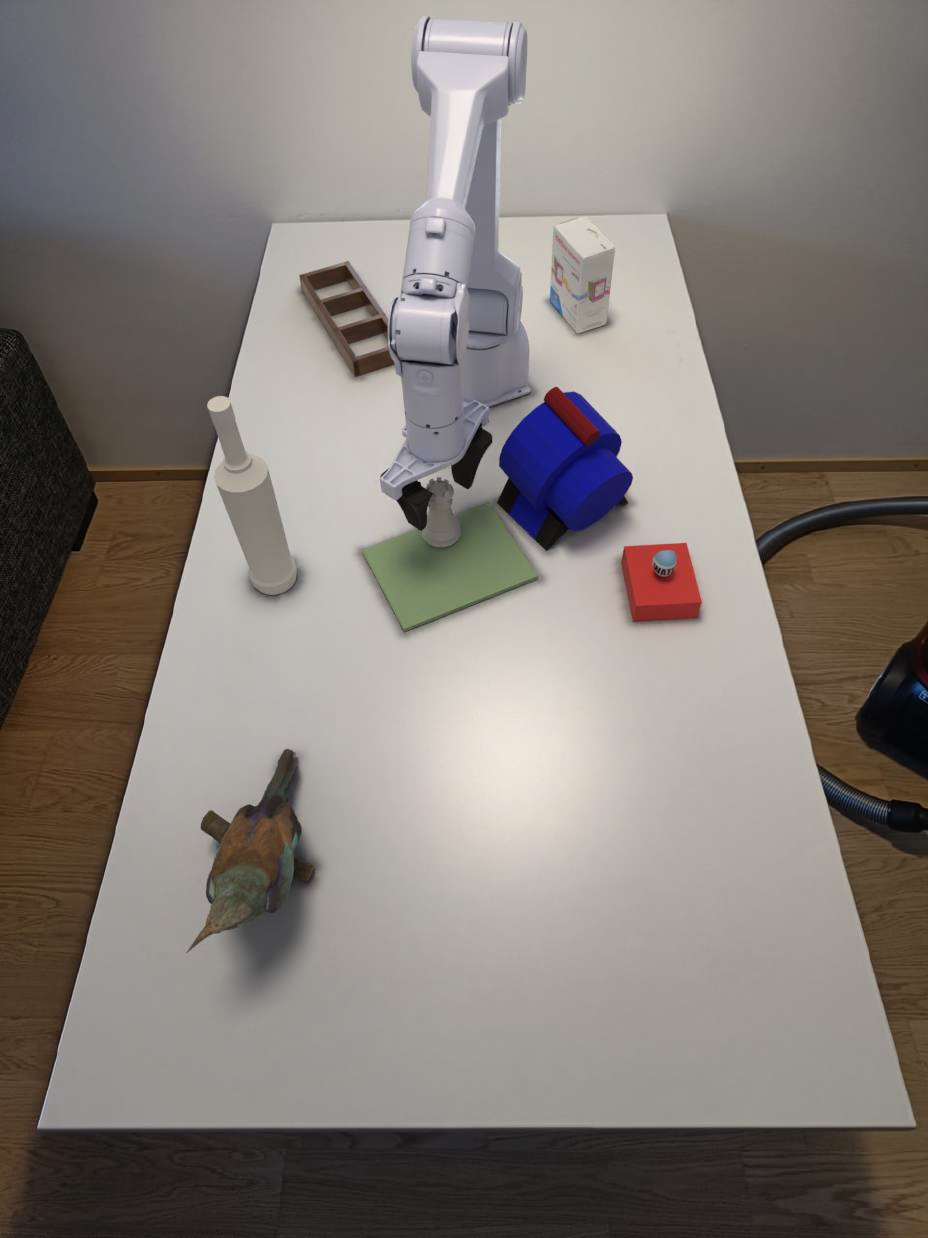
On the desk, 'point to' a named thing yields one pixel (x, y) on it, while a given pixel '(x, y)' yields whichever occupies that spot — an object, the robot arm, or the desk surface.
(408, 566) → the mat
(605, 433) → the electric motor
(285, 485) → the desk surface
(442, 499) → the rook chess piece
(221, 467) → the bottle
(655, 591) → the red rectangular block
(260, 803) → the bird figurine
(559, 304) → the ink box
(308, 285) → the rack
